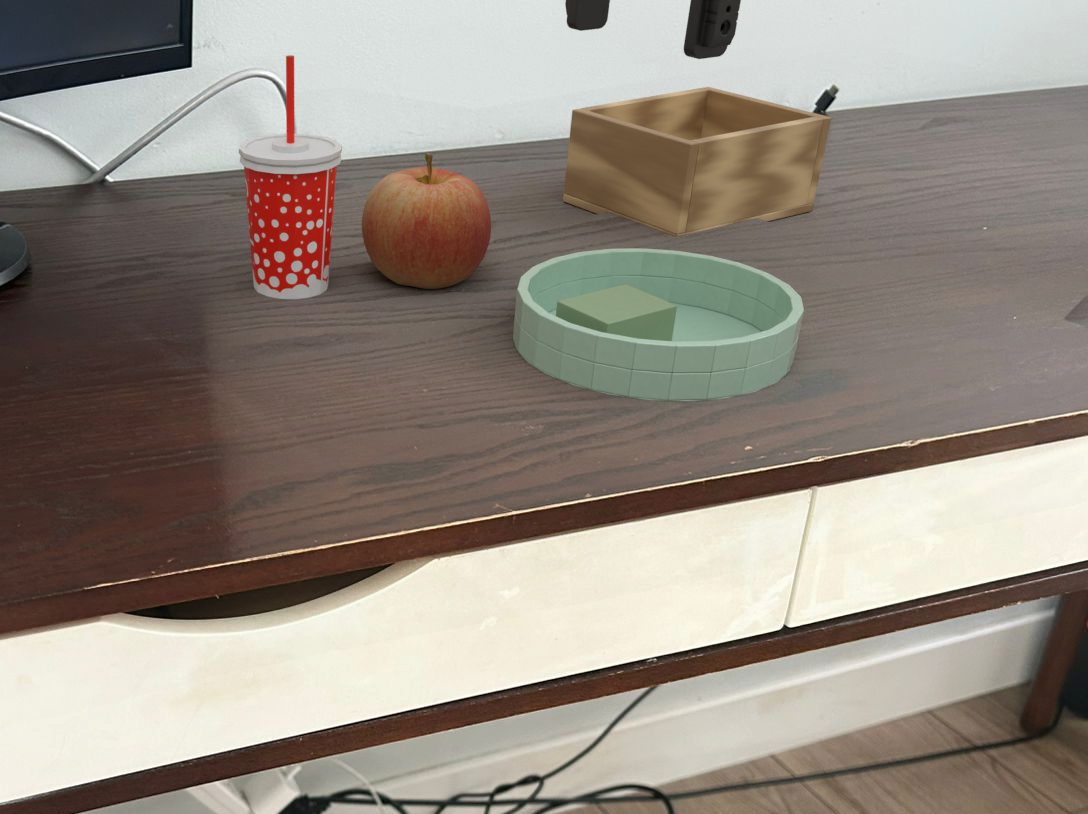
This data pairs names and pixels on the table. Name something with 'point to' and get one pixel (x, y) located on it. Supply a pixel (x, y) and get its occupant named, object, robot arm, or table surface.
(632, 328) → the green rectangular block
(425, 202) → the apple
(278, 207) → the beverage cup
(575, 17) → the robot arm
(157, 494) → the table surface
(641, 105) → the box
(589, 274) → the bowl
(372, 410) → the table surface
